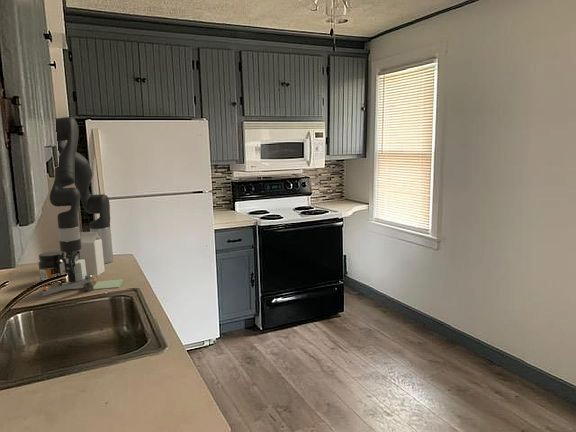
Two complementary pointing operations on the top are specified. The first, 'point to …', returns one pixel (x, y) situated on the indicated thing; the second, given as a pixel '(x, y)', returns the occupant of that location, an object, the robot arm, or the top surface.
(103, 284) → the pad
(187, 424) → the top surface
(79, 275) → the small box
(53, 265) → the supplement container
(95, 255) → the milk carton
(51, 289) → the lever
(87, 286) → the cradle
